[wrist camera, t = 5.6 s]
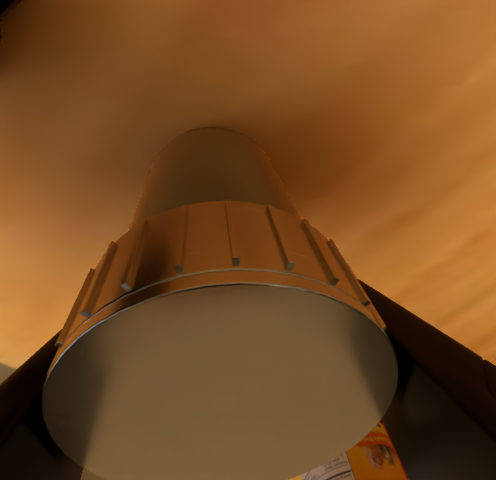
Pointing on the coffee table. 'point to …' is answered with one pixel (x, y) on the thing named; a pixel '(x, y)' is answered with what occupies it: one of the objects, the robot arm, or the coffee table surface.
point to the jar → (211, 174)
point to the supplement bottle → (363, 461)
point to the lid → (218, 351)
